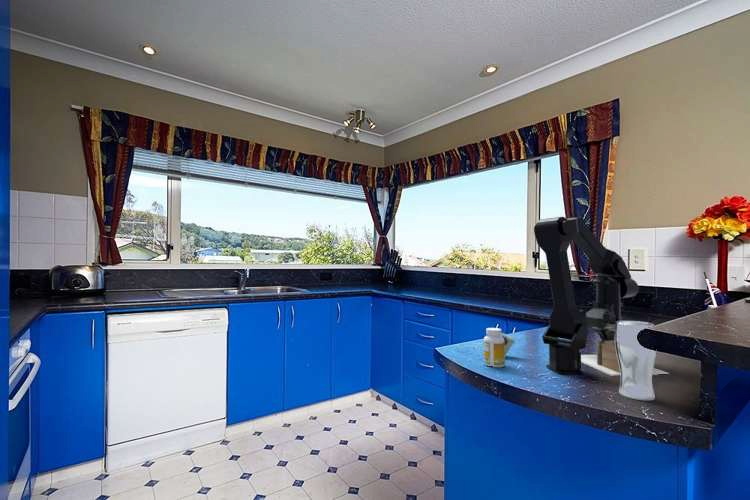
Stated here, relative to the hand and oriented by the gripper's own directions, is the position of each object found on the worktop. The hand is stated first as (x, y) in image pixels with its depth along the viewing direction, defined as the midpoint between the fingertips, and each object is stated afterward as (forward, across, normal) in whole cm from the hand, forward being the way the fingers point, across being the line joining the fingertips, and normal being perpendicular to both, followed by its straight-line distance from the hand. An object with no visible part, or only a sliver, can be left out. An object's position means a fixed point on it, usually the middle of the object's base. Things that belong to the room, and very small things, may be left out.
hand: (608, 353), depth 100 cm
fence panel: (+1, +3, -2) cm, 4 cm away
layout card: (+2, +3, -4) cm, 5 cm away
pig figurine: (+2, -18, -23) cm, 29 cm away
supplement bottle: (+2, -12, -32) cm, 35 cm away
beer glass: (+1, +18, -23) cm, 29 cm away
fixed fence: (+1, +7, -10) cm, 12 cm away
